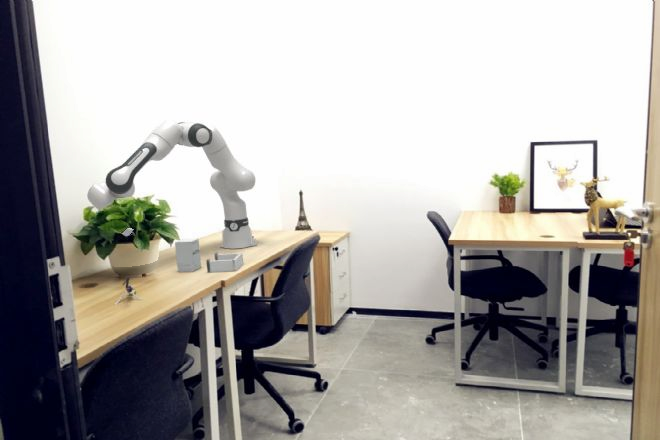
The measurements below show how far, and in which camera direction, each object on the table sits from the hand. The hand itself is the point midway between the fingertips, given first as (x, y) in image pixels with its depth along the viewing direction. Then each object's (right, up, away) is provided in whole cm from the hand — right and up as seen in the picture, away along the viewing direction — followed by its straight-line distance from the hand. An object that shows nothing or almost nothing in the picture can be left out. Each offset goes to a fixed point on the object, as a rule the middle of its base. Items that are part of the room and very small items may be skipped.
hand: (147, 237), depth 206 cm
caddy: (+32, -13, +1) cm, 35 cm away
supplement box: (+17, -14, +1) cm, 22 cm away
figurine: (+8, -20, -37) cm, 43 cm away
